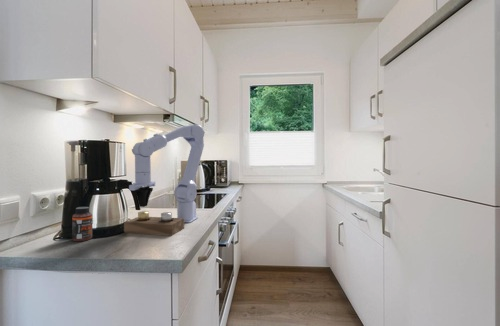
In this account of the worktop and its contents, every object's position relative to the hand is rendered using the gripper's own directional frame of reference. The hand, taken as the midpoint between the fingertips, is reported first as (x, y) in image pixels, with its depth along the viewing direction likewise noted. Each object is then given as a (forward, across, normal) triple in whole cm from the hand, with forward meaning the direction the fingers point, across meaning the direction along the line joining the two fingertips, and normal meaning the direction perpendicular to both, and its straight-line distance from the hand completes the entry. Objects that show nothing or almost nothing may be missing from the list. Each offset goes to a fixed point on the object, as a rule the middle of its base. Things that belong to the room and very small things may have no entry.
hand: (143, 206), depth 103 cm
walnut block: (+9, 0, +5) cm, 11 cm away
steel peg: (+6, 0, +10) cm, 12 cm away
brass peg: (+6, 0, 0) cm, 6 cm away
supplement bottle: (+10, +15, -14) cm, 23 cm away
